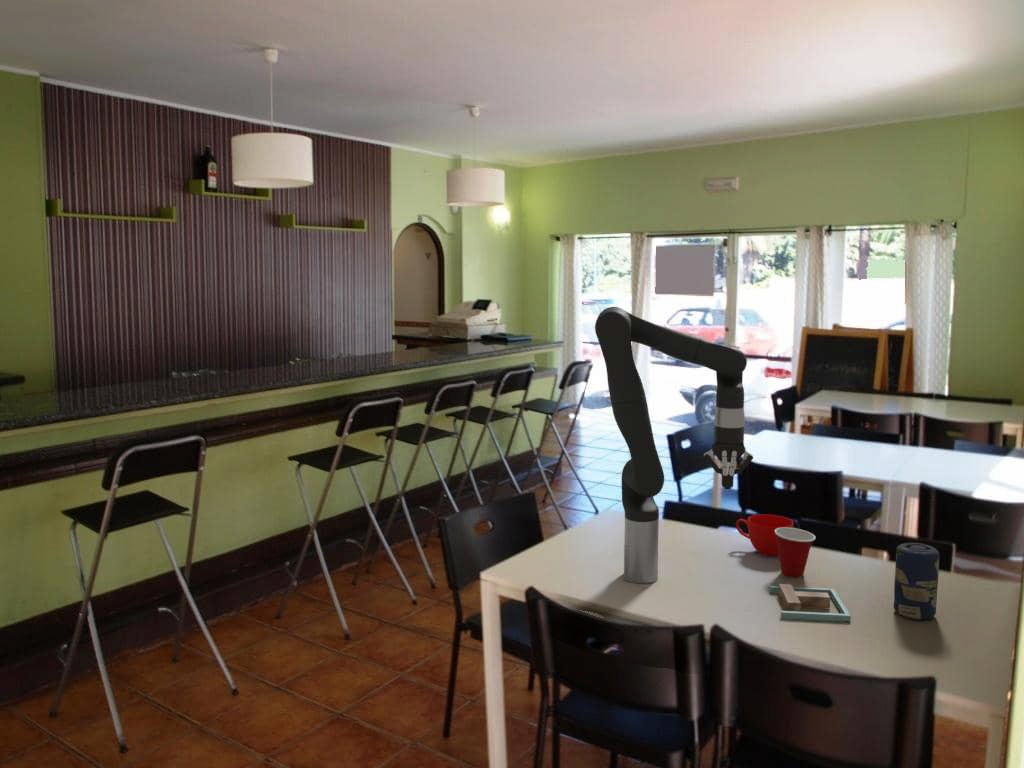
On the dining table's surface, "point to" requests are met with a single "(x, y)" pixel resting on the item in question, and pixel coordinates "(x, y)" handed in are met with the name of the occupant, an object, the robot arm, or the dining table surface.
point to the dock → (814, 615)
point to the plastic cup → (793, 550)
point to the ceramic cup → (764, 532)
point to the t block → (802, 599)
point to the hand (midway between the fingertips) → (727, 488)
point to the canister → (916, 580)
